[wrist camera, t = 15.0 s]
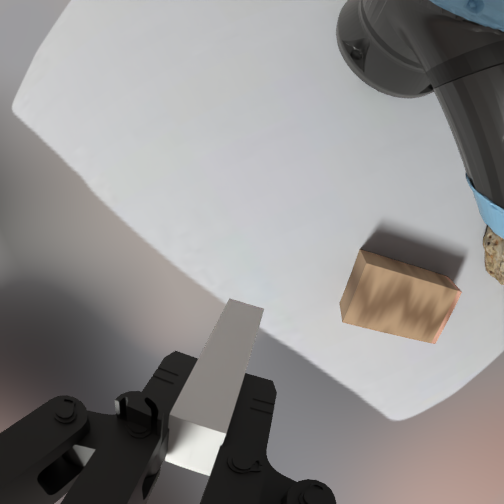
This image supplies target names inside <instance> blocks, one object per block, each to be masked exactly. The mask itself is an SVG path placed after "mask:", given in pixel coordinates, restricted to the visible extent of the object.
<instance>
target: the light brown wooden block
mask: <svg viewBox="0 0 504 504" xmlns="http://www.w3.org/2000/svg"><path fill="white" fill-rule="evenodd" d="M461 293H462V292H461V290H460V289H459V288H458V287H457V286H456V285H455V284H454V283H453V282H452V281H451V279H450V278H449V277H448V276H444V275H441V274H438V273H435V272H432V271H429V270H426V269H423V268H420V267H416V266H413V265H410V264H407V263H404V262H400V261H397V260H394V259H391V258H387V257H384V256H381V255H378V254H374V253H371V252H368V251H364V250H361V249H360V250H359V253H358V256H357V259H356V261H355V264H354V267H353V270H352V272H351V275H350V278H349V280H348V283H347V286H346V288H345V291H344V293H343V296H342V298H341V301H340V309H341V315H342V322H343V323H347V324H351V325H355V326H359V327H363V328H368V329H372V330H376V331H380V332H384V333H388V334H393V335H397V336H401V337H406V338H410V339H415V340H419V341H424V342H428V343H433V344H435V343H436V341H437V340H438V338H439V336H440V334H441V332H442V330H443V329H444V327H445V325H446V323H447V321H448V319H449V317H450V315H451V313H452V311H453V309H454V307H455V305H456V303H457V301H458V299H459V297H460V295H461Z"/></svg>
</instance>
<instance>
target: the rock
mask: <svg viewBox="0 0 504 504" xmlns="http://www.w3.org/2000/svg"><path fill="white" fill-rule="evenodd" d="M483 246H484V249H485V267H486V270H487V272H488V273H489V274H490V275H491V276H492V277H494V278H496V279H497V280H498V281H499V282H500V284H501V285H504V239H503V238H501V237H500V236H498V235H497V234H495V233H494V232H493V231H492V229H491V228H490V227H489V226H488V228H487V232H486V235H485V236H484V238H483Z"/></svg>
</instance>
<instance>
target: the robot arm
mask: <svg viewBox="0 0 504 504" xmlns="http://www.w3.org/2000/svg"><path fill="white" fill-rule="evenodd" d="M336 36H337V43H338V46H339V49H340V52H341V54H342V56H343V58H344V60H345V62H346V63H347V65H348V66H349V67H350V69H351V70H352V71H353V72H354V73H355V74H356V75H357V76H358V77H359V78H360V79H361V80H362V81H364V82H365V83H366V84H368V85H369V86H371V87H372V88H374V89H376V90H378V91H380V92H382V93H384V94H387V95H390V96H394V97H399V98H417V97H421V96H425V95H427V94H430V93H432V92H435V94H436V96H437V98H438V101H439V103H440V105H441V107H442V109H443V112H444V114H445V116H446V119H447V121H448V123H449V126H450V128H451V131H452V133H453V136H454V139H455V141H456V144H457V147H458V149H459V152H460V155H461V158H462V161H463V164H464V167H465V170H466V179H467V182H468V184H469V186H470V188H471V189H472V190H473V193H474V196H475V199H476V202H477V205H478V208H479V212H480V214H481V217H482V218H483V220H484V222H485V223H486V224H487V225H488V226H489V227H490V228H491V229H492V231H493V232H494V233H495V234H497V235H498V236H500V237H501V238H503V239H504V0H348V1H347V2H346V3H345V5H344V6H343V8H342V10H341V12H340V14H339V18H338V22H337V28H336ZM263 311H264V309H263V308H259V307H256V306H253V305H249V304H246V303H243V302H239V301H236V300H233V299H229V300H228V302H227V304H226V306H225V308H224V311H223V312H222V314H221V316H220V318H219V320H218V322H217V324H216V326H215V327H214V329H213V331H212V333H211V335H210V337H209V339H208V341H207V343H206V345H205V347H204V349H203V351H202V353H201V355H200V357H199V358H198V359H197V358H194V357H191V356H189V355H186V354H183V353H180V352H177V351H175V352H173V353H171V354H170V355H168V356H166V357H165V358H164V359H163V361H162V362H161V364H160V365H159V367H158V369H157V370H156V371H155V373H154V374H153V377H151V379H150V380H149V382H148V383H147V385H146V387H145V388H144V389H143V391H142V392H140V391H130V392H126V393H124V394H121V395H120V396H119V397H117V398H116V399H115V406H116V415H108V414H101V413H96V412H91V411H87V410H86V407H85V406H84V405H83V403H82V402H81V401H79V400H78V399H76V398H74V397H70V396H57V397H55V398H53V399H51V400H49V401H48V402H46V403H45V404H43V405H42V406H40V407H39V408H37V409H36V410H34V411H33V412H31V413H30V414H29V415H27V416H25V417H24V418H22V419H21V420H19V421H18V422H16V423H15V424H13V425H12V426H10V427H9V428H8V429H6V430H4V431H3V432H1V433H0V504H54V503H55V502H57V501H58V500H59V499H60V498H61V497H63V495H65V494H66V493H67V492H68V493H67V494H66V496H65V497H64V499H63V501H62V502H61V504H146V503H147V500H148V498H149V496H150V494H151V492H152V490H153V488H154V486H155V483H156V481H157V479H158V477H159V475H160V468H161V465H162V463H163V461H164V459H165V456H166V459H165V461H168V462H170V463H173V464H176V465H178V466H181V467H184V468H187V469H190V470H193V471H196V472H199V473H202V474H205V475H208V476H209V479H208V482H207V485H206V488H205V491H204V494H203V496H202V499H201V502H200V504H336V500H335V497H334V494H333V493H332V490H331V489H330V488H329V487H327V485H325V484H324V483H322V482H319V481H317V480H309V479H307V480H302V481H299V482H296V481H294V480H292V479H290V478H288V477H286V476H284V475H282V474H280V473H279V472H277V471H276V470H275V469H274V468H273V467H272V466H271V465H270V463H269V461H268V459H267V455H266V449H267V443H268V438H269V432H270V427H271V422H272V415H273V410H274V404H275V399H276V393H277V392H276V389H275V386H274V384H273V381H271V380H268V379H264V378H261V377H257V376H254V375H250V374H247V373H245V372H246V369H247V365H248V362H249V358H250V355H251V352H252V349H253V345H254V342H255V338H256V335H257V331H258V328H259V325H260V321H261V318H262V314H263Z"/></svg>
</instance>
